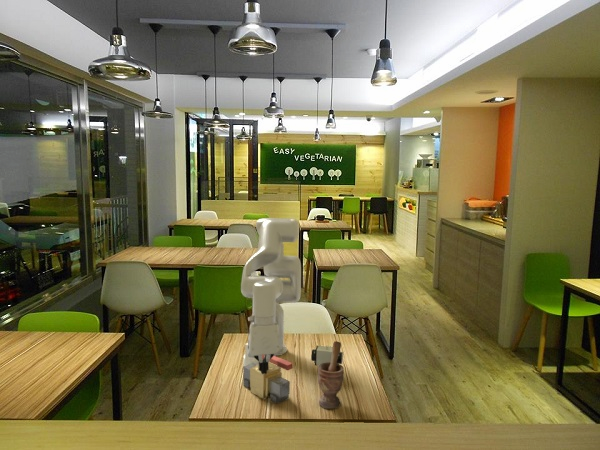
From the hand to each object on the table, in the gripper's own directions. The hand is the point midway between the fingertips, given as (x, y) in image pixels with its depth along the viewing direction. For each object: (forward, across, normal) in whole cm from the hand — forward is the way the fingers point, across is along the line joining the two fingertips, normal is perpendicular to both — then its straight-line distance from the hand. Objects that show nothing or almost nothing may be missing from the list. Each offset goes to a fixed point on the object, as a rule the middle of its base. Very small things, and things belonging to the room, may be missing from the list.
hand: (263, 372), depth 151 cm
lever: (-1, +5, +5) cm, 7 cm away
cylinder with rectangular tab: (+12, +2, +27) cm, 29 cm away
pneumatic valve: (+12, +28, +16) cm, 35 cm away
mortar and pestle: (+12, +23, -3) cm, 26 cm away
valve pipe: (+12, +3, +9) cm, 15 cm away
